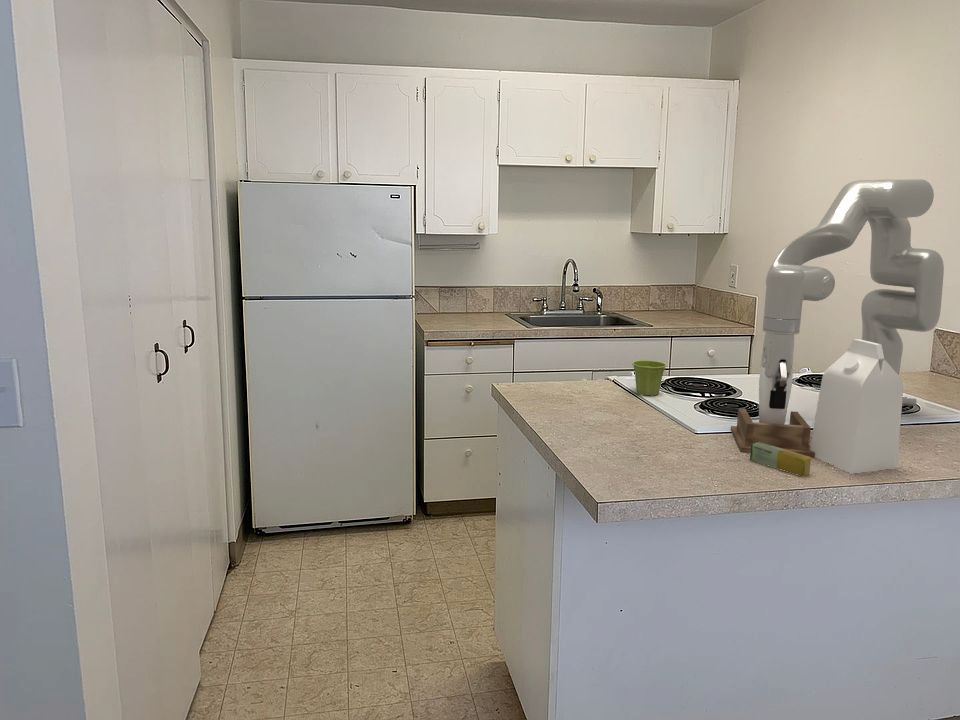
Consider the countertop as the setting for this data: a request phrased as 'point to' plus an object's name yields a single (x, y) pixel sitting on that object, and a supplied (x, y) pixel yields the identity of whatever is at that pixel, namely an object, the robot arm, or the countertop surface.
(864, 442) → the milk
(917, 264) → the robot arm
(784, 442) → the wooden open tray
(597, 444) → the countertop surface
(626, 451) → the countertop surface
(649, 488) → the countertop surface
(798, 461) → the medication box
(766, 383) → the drinking glass
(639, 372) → the plant pot
